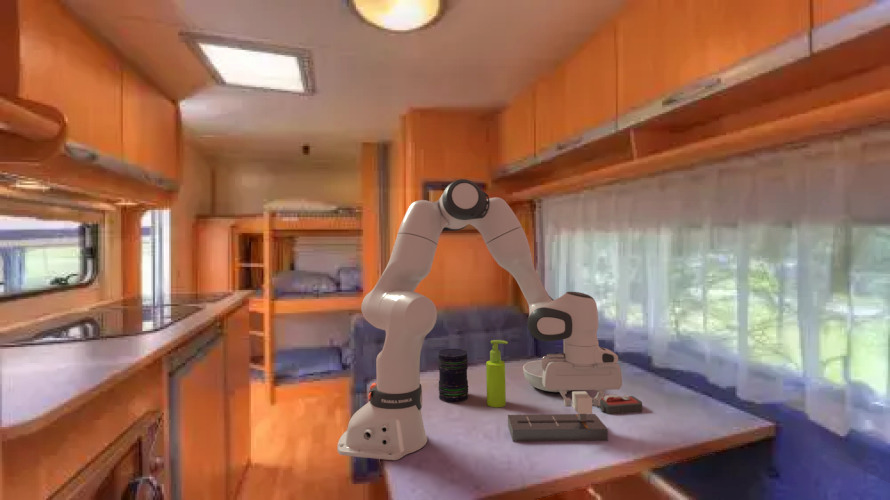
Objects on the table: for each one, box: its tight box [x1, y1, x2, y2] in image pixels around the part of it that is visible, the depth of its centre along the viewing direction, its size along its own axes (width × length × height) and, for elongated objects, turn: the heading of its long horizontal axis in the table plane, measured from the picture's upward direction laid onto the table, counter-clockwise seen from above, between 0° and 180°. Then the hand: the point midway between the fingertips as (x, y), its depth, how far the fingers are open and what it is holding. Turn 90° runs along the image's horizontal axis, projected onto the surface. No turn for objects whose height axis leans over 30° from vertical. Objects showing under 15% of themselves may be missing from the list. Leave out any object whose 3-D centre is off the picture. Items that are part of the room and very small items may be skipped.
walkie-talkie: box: [592, 393, 643, 415], centre depth 122 cm, size 9×4×20 cm
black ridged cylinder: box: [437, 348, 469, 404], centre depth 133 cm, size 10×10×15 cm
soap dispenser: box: [485, 339, 509, 408], centre depth 126 cm, size 6×7×20 cm
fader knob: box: [571, 390, 593, 421], centre depth 106 cm, size 4×5×7 cm
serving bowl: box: [522, 359, 572, 393], centre depth 140 cm, size 21×21×7 cm
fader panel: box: [507, 413, 609, 442], centre depth 106 cm, size 24×9×3 cm, turn 89°
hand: (581, 405), depth 106 cm, fingers open, 6 cm apart
